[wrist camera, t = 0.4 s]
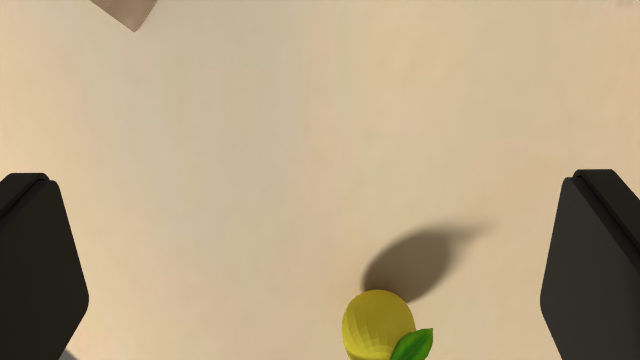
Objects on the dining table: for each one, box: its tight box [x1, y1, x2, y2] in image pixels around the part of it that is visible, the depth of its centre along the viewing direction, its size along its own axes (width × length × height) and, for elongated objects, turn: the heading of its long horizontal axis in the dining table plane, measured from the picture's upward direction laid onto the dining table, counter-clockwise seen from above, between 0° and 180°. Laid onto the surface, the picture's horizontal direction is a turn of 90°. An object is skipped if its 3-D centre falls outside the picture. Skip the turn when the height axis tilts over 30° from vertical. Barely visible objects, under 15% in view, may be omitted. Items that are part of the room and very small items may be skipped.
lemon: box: [342, 290, 433, 360], centre depth 42 cm, size 7×6×10 cm
